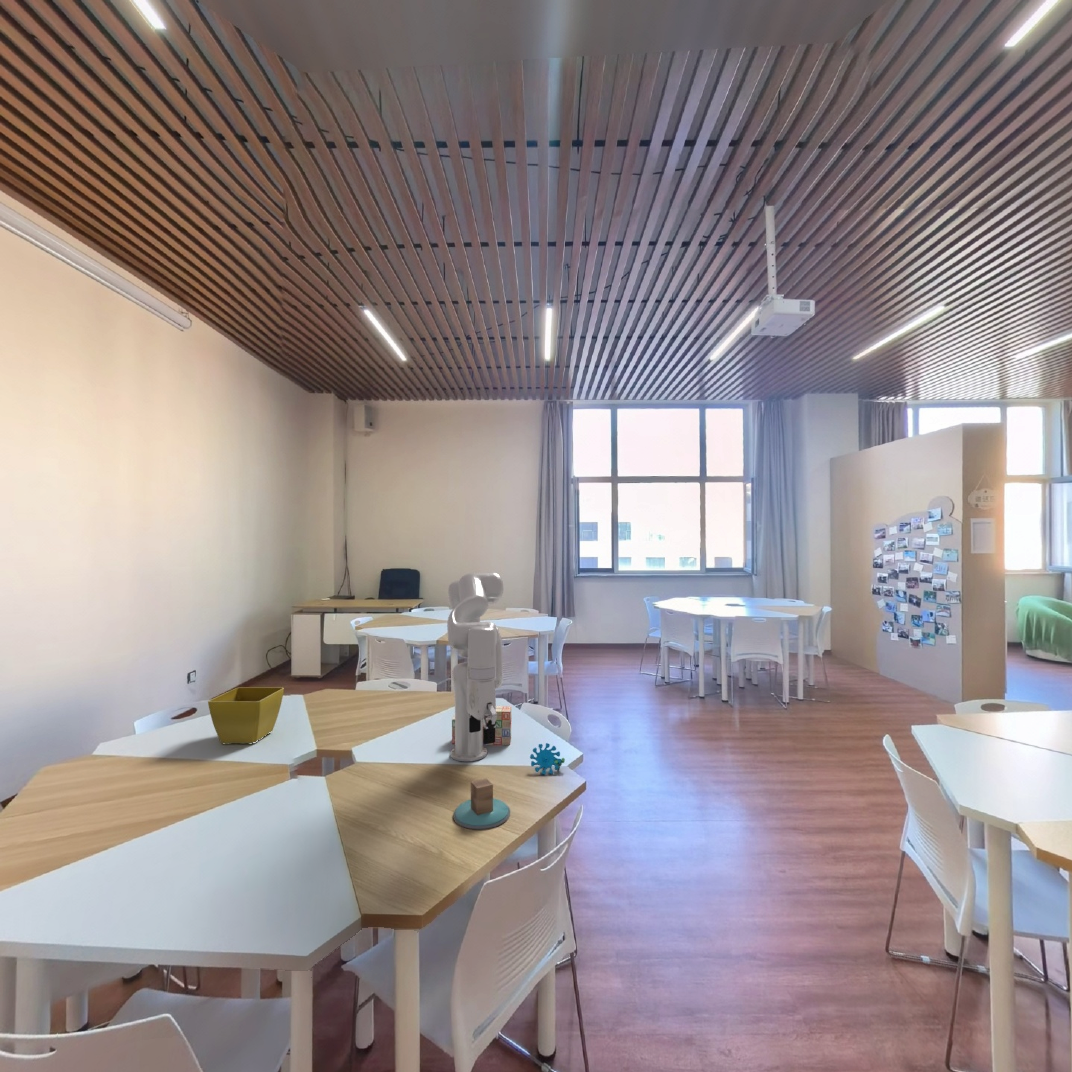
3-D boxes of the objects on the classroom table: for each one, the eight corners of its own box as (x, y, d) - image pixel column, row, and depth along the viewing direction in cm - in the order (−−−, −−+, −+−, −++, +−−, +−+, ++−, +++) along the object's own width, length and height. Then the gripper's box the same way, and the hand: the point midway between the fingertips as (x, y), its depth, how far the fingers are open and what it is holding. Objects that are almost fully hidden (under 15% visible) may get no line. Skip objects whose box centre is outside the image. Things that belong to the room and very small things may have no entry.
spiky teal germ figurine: (527, 770, 163) (532, 739, 170) (527, 778, 167) (532, 747, 174) (562, 776, 162) (566, 745, 169) (561, 784, 166) (565, 753, 173)
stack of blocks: (451, 745, 189) (451, 710, 190) (454, 738, 195) (454, 705, 196) (510, 745, 189) (510, 711, 189) (511, 739, 195) (511, 705, 195)
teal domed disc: (445, 809, 142) (445, 804, 142) (496, 796, 149) (496, 792, 149) (465, 835, 129) (465, 830, 129) (519, 820, 136) (519, 815, 136)
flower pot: (258, 748, 187) (258, 701, 187) (205, 748, 187) (206, 701, 188) (284, 730, 206) (285, 687, 206) (237, 730, 206) (237, 687, 207)
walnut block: (470, 808, 140) (470, 781, 140) (486, 804, 142) (486, 778, 142) (477, 815, 136) (477, 788, 136) (493, 811, 138) (492, 784, 138)
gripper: (457, 668, 146) (457, 730, 145) (481, 681, 131) (481, 750, 130) (482, 665, 150) (482, 725, 149) (508, 678, 134) (508, 745, 134)
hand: (481, 737), depth 140 cm, fingers open, 9 cm apart
